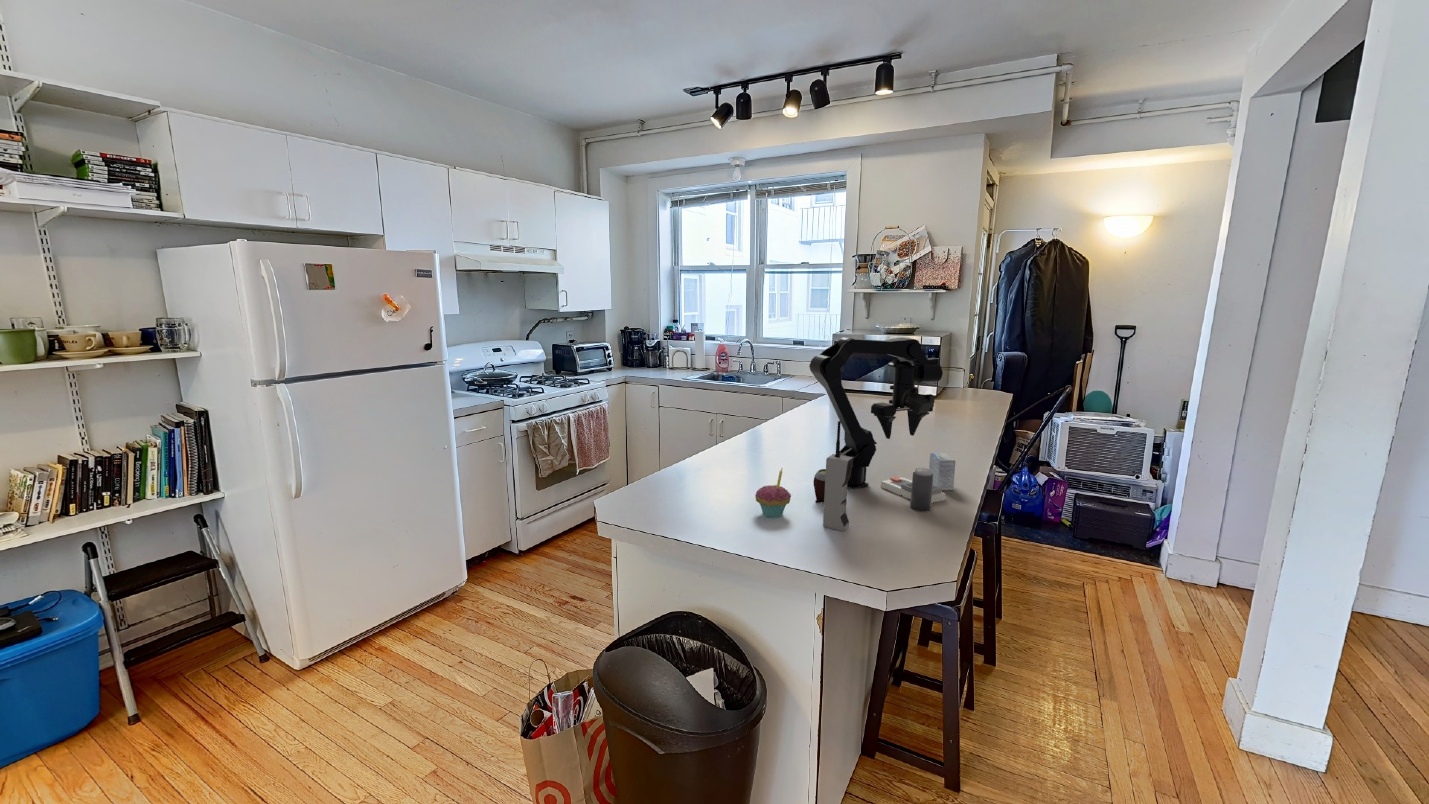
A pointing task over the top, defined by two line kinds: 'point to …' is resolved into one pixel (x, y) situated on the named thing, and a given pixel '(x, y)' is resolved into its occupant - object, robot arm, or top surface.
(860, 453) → the robot arm
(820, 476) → the mate gourd
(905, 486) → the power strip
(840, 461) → the vintage mobile phone
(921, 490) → the grey cylinder
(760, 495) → the cupcake
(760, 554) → the top surface
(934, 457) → the medicine box
